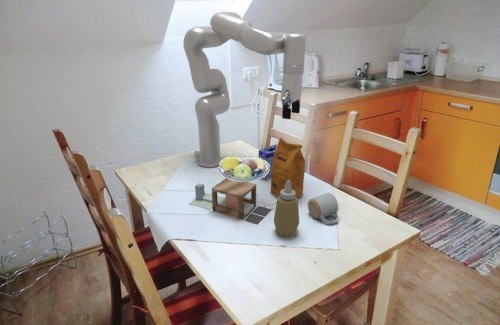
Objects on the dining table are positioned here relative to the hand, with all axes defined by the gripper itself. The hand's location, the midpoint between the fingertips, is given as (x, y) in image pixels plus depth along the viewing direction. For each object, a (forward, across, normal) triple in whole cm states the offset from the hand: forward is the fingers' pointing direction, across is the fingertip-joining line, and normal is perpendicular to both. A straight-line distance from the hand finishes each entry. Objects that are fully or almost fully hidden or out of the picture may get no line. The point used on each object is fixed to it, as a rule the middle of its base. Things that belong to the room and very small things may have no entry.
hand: (291, 115), depth 135 cm
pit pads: (+29, +28, 0) cm, 40 cm away
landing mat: (+29, +27, -22) cm, 45 cm away
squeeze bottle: (+29, +33, +12) cm, 46 cm away
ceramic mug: (+29, +18, +21) cm, 40 cm away
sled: (+29, +27, -15) cm, 42 cm away
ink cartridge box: (+29, -5, -10) cm, 31 cm away
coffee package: (+29, +9, +3) cm, 31 cm away
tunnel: (+29, +27, -10) cm, 41 cm away
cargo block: (+28, +27, -10) cm, 40 cm away
